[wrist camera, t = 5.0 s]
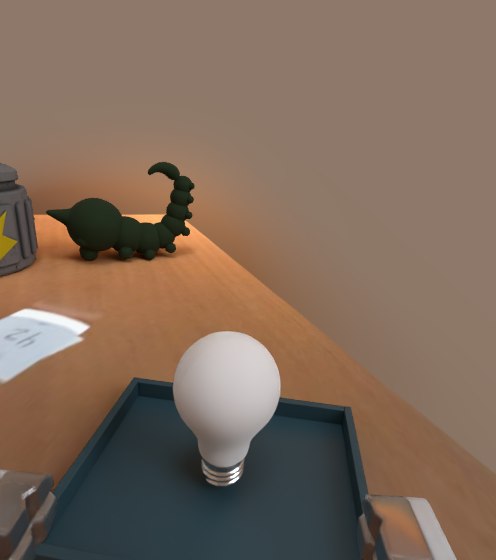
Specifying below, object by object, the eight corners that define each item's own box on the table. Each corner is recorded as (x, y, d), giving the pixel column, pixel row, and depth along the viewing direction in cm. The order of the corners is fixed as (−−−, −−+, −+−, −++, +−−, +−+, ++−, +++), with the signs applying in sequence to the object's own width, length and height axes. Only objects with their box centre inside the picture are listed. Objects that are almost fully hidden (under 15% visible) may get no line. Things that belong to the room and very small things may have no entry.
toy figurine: (178, 254, 80) (47, 251, 69) (187, 164, 74) (45, 144, 63) (191, 268, 72) (46, 267, 61) (202, 168, 66) (43, 146, 55)
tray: (16, 571, 20) (11, 549, 19) (134, 392, 34) (134, 377, 33) (387, 644, 18) (394, 622, 17) (347, 422, 32) (350, 407, 31)
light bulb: (201, 544, 21) (206, 385, 17) (158, 463, 26) (155, 326, 23) (289, 491, 25) (309, 350, 21) (236, 429, 30) (245, 306, 26)
